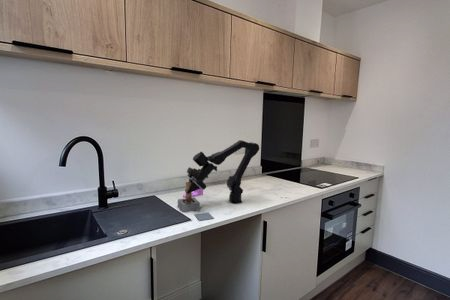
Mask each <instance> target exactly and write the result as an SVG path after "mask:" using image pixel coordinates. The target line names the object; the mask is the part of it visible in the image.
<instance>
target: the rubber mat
mask: <svg viewBox="0 0 450 300" xmlns="http://www.w3.org/2000/svg"><path fill="white" fill-rule="evenodd" d="M194 217H195V218H196V220H197V221H198V222H201V221H209V220H214V219H215V217H214V216H212V214H211V213H210V212H202V213H196V214H194Z"/></svg>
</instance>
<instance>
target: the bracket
mask: <svg viewBox="0 0 450 300" xmlns="http://www.w3.org/2000/svg"><path fill="white" fill-rule="evenodd" d="M200 188H201V187H200ZM203 195H204V190H203V189H202V188H201V189H198V190H195V191H193V192H192V198H193V197H195V198H196V197H199V196H203ZM182 196H183V199H185V198H186V193H183V194H182Z"/></svg>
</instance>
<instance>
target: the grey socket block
mask: <svg viewBox="0 0 450 300" xmlns="http://www.w3.org/2000/svg"><path fill="white" fill-rule="evenodd" d="M185 201H186V198H178V199H177V207H178V208H179V210H180V211H181V213H186V212H187V213H188V212H193V211H199V210H200V209H201V202H199V200H197V198H196V197H192V201H193V203H185Z"/></svg>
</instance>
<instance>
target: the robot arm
mask: <svg viewBox="0 0 450 300" xmlns="http://www.w3.org/2000/svg"><path fill="white" fill-rule="evenodd" d="M243 148H244V156H242V159H241V161H240V162H239V165H238V167H237V168H236V170H235V172H234V174H233V175H232V176H231V175H229V177H228V179H227V180H226V182H227V183H226V188H228V189H229V192H230V193H229V198H228V201H229V202H231V204H240V203H243V200H242V194H243V192H244V189H243V188H241V184H242V178H243V176H244V174H245V172H246V170H247V168H248V166H249V164H250V162H251V160H252V158H254V157H255V156H256V155H257V154H258V152H259V151H260V145H259V143H256V142H247V141H245V140H237V141H236V142H234V143H233V144H232V145H230V146H228V147H226V148H225V149H224V150H221V151H217V152H215V153H212V154H210V155H209V156H206V155H205V154H204V152H203V151H200V152H198V153H196V154H195V155H194V156H193V157H192V160H193V162H195V164H196V165H197V166H198V167H201V168H198V169H197V168H192V167H191V166H190V167H188V168H187V170H186V173H187V177H188V182H192V185H191V187H190V188H189V189H188V191H187V193H188V194H189V193H191V192H194V191H195V190H198V189H201V188H202V189H203V191H204V190H205V189H207V184H205V183H204V181H205V180H206V179H208V178H209V175H210V174H211V173H212V172H213V171H215V172H218V166H219V165H221V164H222V163H224V161H225V160H226V159H227V158H228V157H230V156H232V155H233V154H234V153H236V152H237V151H240V150H242V149H243ZM200 187H201V188H200ZM184 192H186V188H185V189H184Z"/></svg>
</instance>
